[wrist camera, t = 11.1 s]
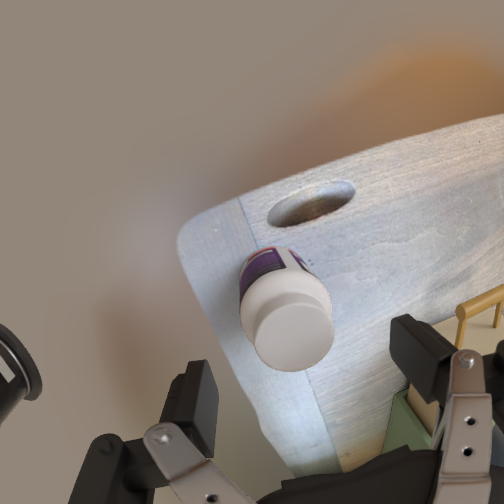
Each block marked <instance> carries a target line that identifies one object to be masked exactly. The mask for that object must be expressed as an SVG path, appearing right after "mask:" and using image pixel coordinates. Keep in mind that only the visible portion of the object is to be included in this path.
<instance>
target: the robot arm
mask: <svg viewBox="0 0 504 504" xmlns="http://www.w3.org/2000/svg"><path fill="white" fill-rule="evenodd" d="M389 348H390V354H391V357H392V359H393V361H394V362H395V363H396V365H397V366H398V367H399V368H400V370H401V371H402V372H403V374H404V375H405V376H406V377H407V379H408V380H409V381H410V383H411V384H412V385H413V387H414V388H415V389H416V390H417V392H418V393H419V394H420V396H421V397H422V398H423V400H424V401H425V402H426V404H427V405H428V404H430V403H432V402H434V401H436V400H437V401H438V403H439V405H438V408H437V413H436V419H435V425H434V430H433V435H432V439H431V443H430V447H429V449H420V450H412V451H411V450H410V448H409V446H408V445H407V444H406V445H403V446H401V447H399V448H396V449H394V450H391V451H389V452H386V453H384V454H381V455H379V456H377V457H375V458H374V459H372V460H371V461H369V462H367V463H365V464H364V465H362V466H360V467H358V468H357V469H355V470H353V471H351V472H347V473H336V474H317V475H310V476H305V477H300V478H295V479H290V480H283V481H281V485H282V489H279V490H277V491H274V492H272V493H270V494H268V495H266V496H264V497H263V498H261V499H260V500H258V501H257V502H254V501H253V500H252V499H251V498H250V497H249V496H248V495H246V494H245V493H244V492H243V491H242V490H241V489H240V488H238V486H236V485H235V484H234V483H233V482H232V481H231V480H230V479H229V478H228V477H227V476H226V475H225V474H224V473H223V472H222V471H221V470H220V469H219V468H218V467H217V466H216V465H215V464H214V463H213V462H212V461H211V460H209V459H208V460H207V459H206V458H213V457H214V446H215V435H216V424H217V413H218V402H219V395H218V389H217V385H216V383H215V380H214V377H213V374H212V371H211V369H210V366H209V363H208V361H207V360H198V361H189V362H188V365H187V369H186V372H185V373H184V374H178V376H177V377H176V378H175V379H174V380H173V381H172V383H171V387H170V390H169V392H168V395H167V399H166V402H165V405H164V408H163V411H162V414H161V418H160V421H159V423H158V424H155V425H153V426H152V427H150V428H149V429H148V430H147V431H146V432H145V434H144V437H143V438H140V439H136V440H131V441H126V442H123V441H122V440H121V438H120V437H119V436H117V435H115V434H103V435H101V436H99V437H97V438H96V439H95V440H93V442H92V443H91V445H90V448H89V450H88V452H87V455H86V457H85V460H84V462H83V465H82V467H81V470H80V472H79V475H78V477H77V480H76V483H75V485H74V488H73V491H72V494H71V496H70V499H69V502H68V504H153V499H154V493H155V488H159V487H164V486H170V488H171V489H172V490H173V491H174V493H175V494H176V496H177V497H178V498H179V500H180V501H181V502H182V504H504V467H500V466H495V465H491V464H490V457H491V444H492V419H493V420H494V422H495V423H496V424H497V426H498V427H499V428H500V430H501V431H502V432H503V434H504V340H501V341H500V342H499V343H498V344H497V346H496V350H495V353H491V354H487V355H483V356H481V355H480V354H479V353H478V352H476V351H474V350H471V349H463V350H459V349H457V348H456V347H455V346H454V345H453V344H452V343H451V342H449V341H448V340H447V339H446V338H445V337H444V336H441V334H440V333H439V332H438V331H436V330H435V329H434V328H433V327H432V326H431V325H429V324H427V323H424V322H422V321H416V320H415V319H414V318H413V317H412V316H410V315H409V314H404V315H401V316H398V317H395V318H393V319H392V320H391V328H390V347H389ZM30 391H31V380H30V377H29V375H28V372H27V370H26V368H25V366H24V364H23V363H22V361H21V360H20V358H19V357H18V355H17V354H16V353H15V351H14V350H13V349H12V348H11V347H10V345H9V344H8V343H7V342H6V341H4V340H3V339H2V338H1V337H0V427H1V425H2V424H3V423H4V422H5V420H6V419H7V417H8V416H9V415H10V414H11V413H12V412H13V410H14V409H15V408H16V407H17V405H18V404H19V403H20V402H21V401H22V400H23V398H24V397H25V396H27V395H28V394H29V392H30Z"/></svg>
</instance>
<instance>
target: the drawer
mask: <svg viewBox="0 0 504 504" xmlns="http://www.w3.org/2000/svg"><path fill="white" fill-rule="evenodd" d="M503 302H504V284H501V285H499V286H497V287H495V288H493V289H491V290H489V291H487V292H485V293H483V294H481V295H479V296H477V297H475V298H472V299H470V300H468V301H466V302H464V303H461V304H459V305H457V307H456V310H455V313H456V315H455V316H453V317H451V318H449V319H446V320H444V321H442V322H439V323H437V324H434V325H432V327H433V328H434V329H435V330H436V331H438V332H439V333H440V334H441V336H444V337H445V338H446V339H447V340H448V341H449V342H451V343H452V344H453V345H454V346H455V347H456V348H457V349H459V350H463V349H471V350H474V351H476V352H478V353H479V354H480V355H481V356H483V355H487V354H491V353H495V350H496V346H497V344H498V343H499V342H500V341H501V340H504V315H502V314H501V313H502V308H503ZM495 304H497V305H496V310H494V309H492V308H491V307H492V306H494V305H495ZM407 403H408V405H409V406H410V408H411V409H412V410H413V412H414V413H415V415H416V416H417V418H418V419H419V421H420V422H421V424H422V425H423V427H424V428H425V429H426V431H427V432H428V434H429V435H430V437H431V438H432V435H433V430H434V425H435V419H436V413H437V408H438V405H439V403H438V401H437V400H436V401H434V402H432V403H430V404H428V405H427V404H426V402H425V401H424V400H423V398H422V397H421V396H420V394H419V393H418V392H417V390H416V389H415V388H414V387H413V385H412V384H411V383H410V388H409V393H408V397H407Z"/></svg>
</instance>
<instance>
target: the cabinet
mask: <svg viewBox="0 0 504 504" xmlns="http://www.w3.org/2000/svg"><path fill="white" fill-rule="evenodd" d="M408 393H409V389H406V390H404V391H401V392H399V393H396V394H394V399H393V405H392V410H391V415H390V420H389V425H388V429H387V433H386V438H385V442H384V446H383V450H382V453H381V454H384V453H386V452H389V451H391V450H394V449H396V448H399V447H401V446H403V445H406V444H407V445H408V446H409V448H410V450H411V451H412V450H420V449H429V447H430V443H431V439H432V438H431V437H430V435H429V434H428V432H427V431H426V429H425V428H424V427H423V425H422V424H421V422H420V421H419V419H418V418H417V416H416V415H415V413H414V412H413V410H412V409H411V408H410V406H409V405H408V403H407V397H408ZM494 425H495V422H494V420H493V419H492V428H493V427H494Z"/></svg>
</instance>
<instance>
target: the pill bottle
mask: <svg viewBox="0 0 504 504" xmlns="http://www.w3.org/2000/svg"><path fill="white" fill-rule="evenodd" d="M239 285H240V320H241V325H242V328H243V331H244V333H245V335H246V336H247V338H248V339H249V340H250V341H251V342H252V343H253V344H254V345H255V349H256V352H257V354H258V356H259V358H260V359H261V360H262V361H263V362H264V363H265V364H266V365H267V366H269V367H271V368H273V369H275V370H279V371H283V372H296V371H301V370H304V369H307V368H309V367H312V366H313V365H315V364H317V363H318V362H319V361H321V360H322V359H323V358H324V357H325V355H326V354H327V353H328V351H329V350H330V348H331V346H332V343H333V340H334V326H333V323H332V320H331V315H332V304H331V299H330V296H329V294H328V291H327V290H326V288H325V286H324V285H323V284H322V282H321V281H320V280H319V279H318V277H317V276H316V275H315V274H314V273H313V271H312V270H311V269H310V268H309V267H308V266H307V265H306V263H305V262H304V261H303V260H302V259H301V258H300V257H299V256H298V255H297V254H296V253H295V252H293V251H292V250H290V249H287V248H285V247H280V246H269V247H265V248H262V249H260V250H258V251H256V252H254V253H253V254H252V255H251V256H249V258H248V259H247V260H246V261H245V263H244V265H243V267H242V269H241V273H240V282H239Z"/></svg>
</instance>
